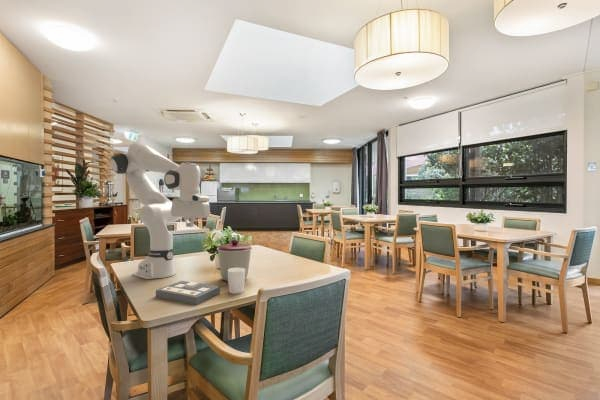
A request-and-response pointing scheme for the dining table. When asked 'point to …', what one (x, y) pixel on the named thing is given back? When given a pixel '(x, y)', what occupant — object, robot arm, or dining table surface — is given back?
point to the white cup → (236, 280)
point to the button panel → (187, 293)
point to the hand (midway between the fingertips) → (189, 226)
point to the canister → (233, 257)
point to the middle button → (191, 285)
